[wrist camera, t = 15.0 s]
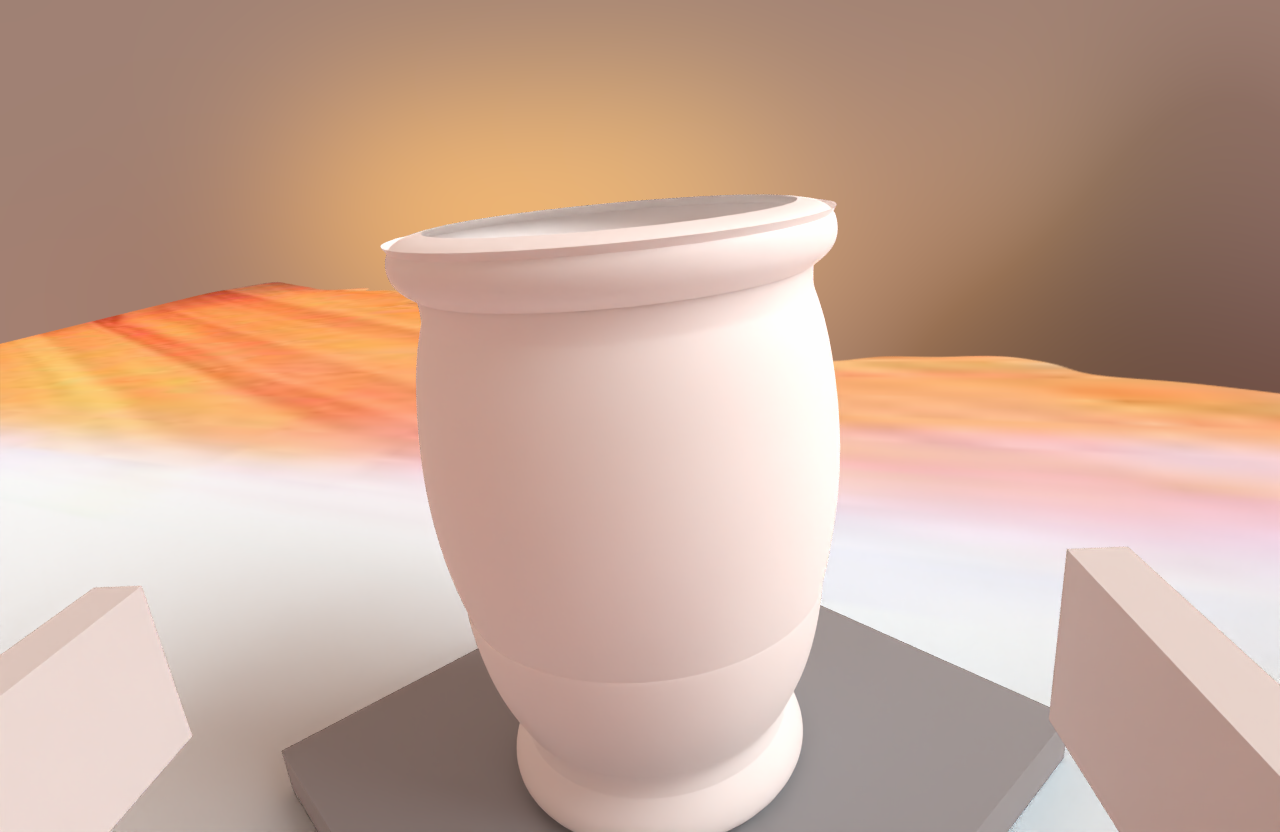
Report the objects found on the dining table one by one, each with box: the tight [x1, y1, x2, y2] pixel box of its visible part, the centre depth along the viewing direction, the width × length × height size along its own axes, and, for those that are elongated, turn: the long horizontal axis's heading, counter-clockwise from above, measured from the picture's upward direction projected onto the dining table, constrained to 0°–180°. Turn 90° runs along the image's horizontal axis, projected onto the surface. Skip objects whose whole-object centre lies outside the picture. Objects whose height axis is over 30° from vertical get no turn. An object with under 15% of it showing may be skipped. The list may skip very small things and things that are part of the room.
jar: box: [381, 195, 840, 832], centre depth 20 cm, size 11×10×15 cm
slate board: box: [282, 605, 1065, 832], centre depth 23 cm, size 16×17×2 cm
